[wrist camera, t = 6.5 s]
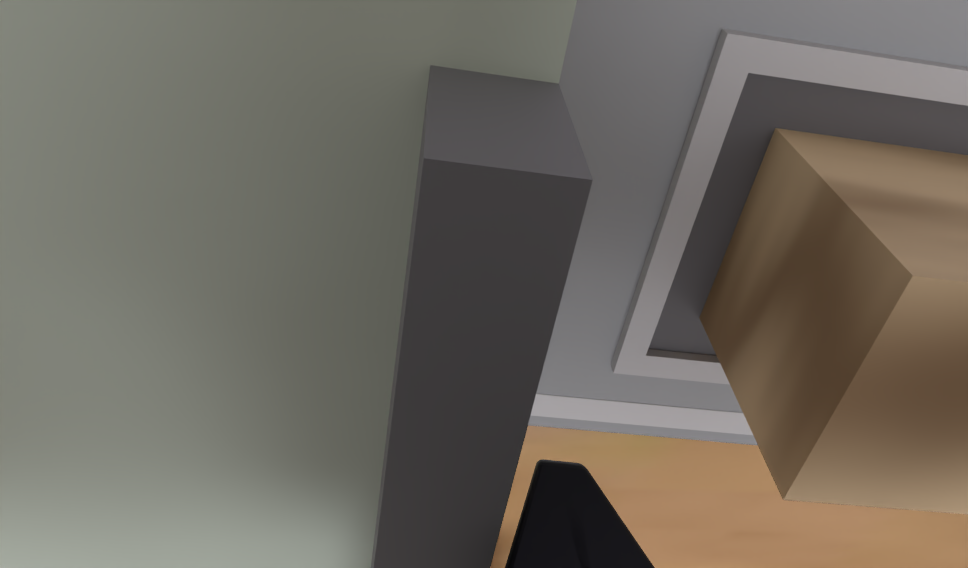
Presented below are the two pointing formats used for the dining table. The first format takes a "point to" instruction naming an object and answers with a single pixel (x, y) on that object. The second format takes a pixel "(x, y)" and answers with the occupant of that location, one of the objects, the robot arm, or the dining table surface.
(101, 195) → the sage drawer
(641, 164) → the puzzle board
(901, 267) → the oak block
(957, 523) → the dining table surface
